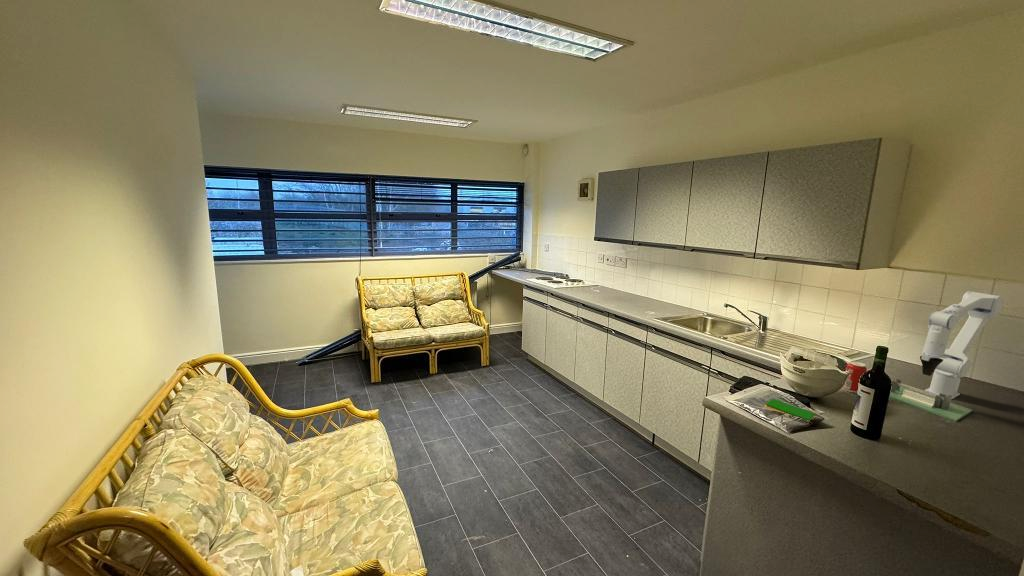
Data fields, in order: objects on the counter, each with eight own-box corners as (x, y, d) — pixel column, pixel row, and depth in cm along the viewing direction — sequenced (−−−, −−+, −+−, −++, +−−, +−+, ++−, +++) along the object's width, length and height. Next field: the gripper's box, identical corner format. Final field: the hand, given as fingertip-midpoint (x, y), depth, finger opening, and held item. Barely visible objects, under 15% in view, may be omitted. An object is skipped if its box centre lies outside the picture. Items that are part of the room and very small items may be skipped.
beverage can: (865, 394, 162) (871, 367, 160) (849, 393, 163) (856, 366, 160) (852, 387, 169) (858, 360, 166) (837, 386, 169) (843, 360, 166)
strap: (896, 383, 164) (897, 381, 164) (945, 399, 152) (945, 397, 152) (893, 384, 163) (894, 382, 163) (942, 400, 151) (942, 398, 151)
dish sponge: (808, 426, 139) (809, 419, 138) (764, 409, 149) (765, 403, 149) (814, 419, 143) (815, 413, 143) (771, 403, 154) (772, 398, 153)
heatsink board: (890, 385, 171) (893, 372, 170) (971, 411, 151) (975, 398, 149) (872, 392, 164) (876, 380, 163) (955, 421, 143) (959, 407, 142)
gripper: (943, 348, 148) (933, 382, 151) (957, 343, 154) (947, 375, 157) (918, 342, 154) (908, 374, 157) (932, 337, 161) (923, 368, 164)
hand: (926, 374), depth 158 cm, fingers closed
